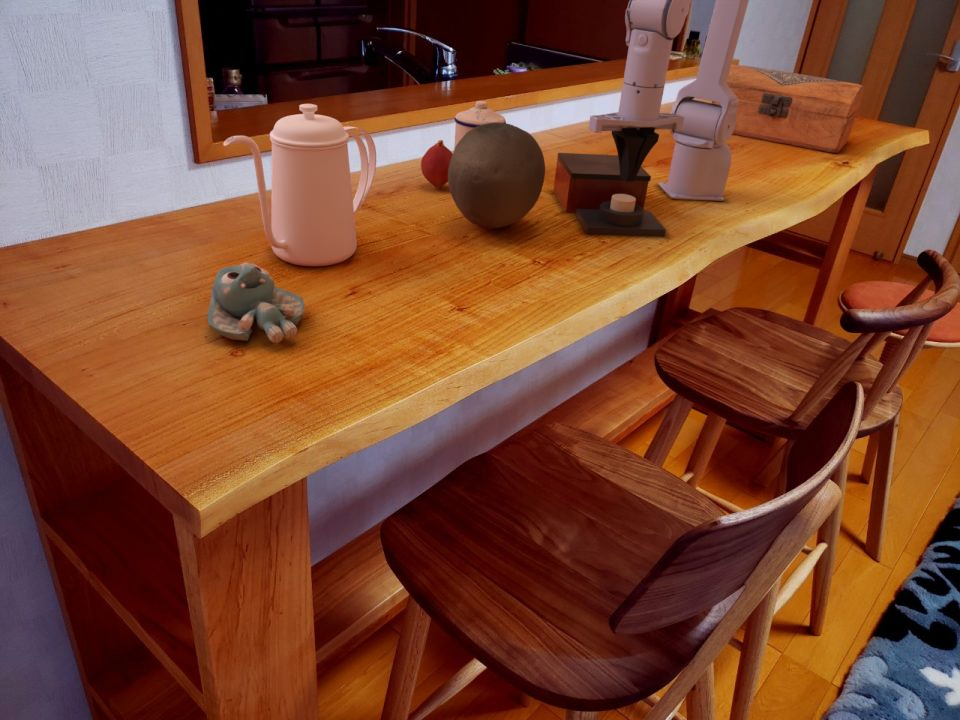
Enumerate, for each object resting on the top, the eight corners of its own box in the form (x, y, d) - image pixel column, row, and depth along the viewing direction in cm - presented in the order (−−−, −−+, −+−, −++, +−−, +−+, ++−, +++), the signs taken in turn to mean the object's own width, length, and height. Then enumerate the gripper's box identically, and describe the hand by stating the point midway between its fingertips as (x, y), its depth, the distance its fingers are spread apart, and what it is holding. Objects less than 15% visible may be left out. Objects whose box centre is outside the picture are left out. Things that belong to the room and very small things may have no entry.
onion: (413, 186, 125) (414, 137, 120) (437, 180, 128) (439, 133, 124) (437, 195, 121) (439, 146, 117) (462, 189, 125) (465, 141, 121)
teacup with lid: (474, 178, 131) (479, 110, 125) (441, 165, 136) (444, 98, 130) (523, 168, 138) (530, 103, 132) (490, 156, 143) (495, 93, 137)
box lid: (650, 181, 117) (651, 176, 116) (571, 178, 115) (571, 173, 115) (630, 160, 126) (631, 155, 126) (557, 157, 125) (557, 152, 124)
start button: (629, 206, 115) (632, 194, 114) (636, 214, 112) (638, 202, 111) (607, 205, 115) (609, 193, 114) (613, 213, 112) (615, 201, 111)
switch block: (648, 218, 119) (652, 200, 118) (664, 237, 112) (668, 218, 111) (575, 216, 118) (577, 197, 116) (586, 234, 111) (589, 215, 109)
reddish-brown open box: (642, 215, 120) (649, 180, 117) (565, 213, 118) (570, 177, 116) (624, 194, 129) (630, 160, 126) (553, 191, 128) (557, 157, 125)
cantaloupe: (430, 215, 113) (434, 113, 106) (514, 208, 118) (524, 111, 111) (465, 251, 102) (473, 140, 95) (556, 242, 108) (570, 136, 100)
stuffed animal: (237, 317, 70) (178, 254, 76) (237, 375, 75) (182, 310, 81) (334, 289, 77) (273, 233, 83) (329, 344, 81) (271, 286, 87)
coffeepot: (206, 272, 91) (186, 113, 81) (344, 218, 109) (340, 84, 100) (272, 297, 86) (258, 132, 77) (403, 237, 105) (406, 98, 95)
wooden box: (702, 129, 176) (716, 67, 169) (722, 118, 188) (736, 59, 181) (836, 156, 163) (857, 89, 156) (848, 142, 175) (868, 80, 168)
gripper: (670, 77, 110) (653, 169, 117) (584, 78, 105) (571, 173, 112) (699, 88, 104) (679, 183, 111) (609, 89, 99) (594, 188, 106)
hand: (627, 179), depth 111 cm, fingers closed
